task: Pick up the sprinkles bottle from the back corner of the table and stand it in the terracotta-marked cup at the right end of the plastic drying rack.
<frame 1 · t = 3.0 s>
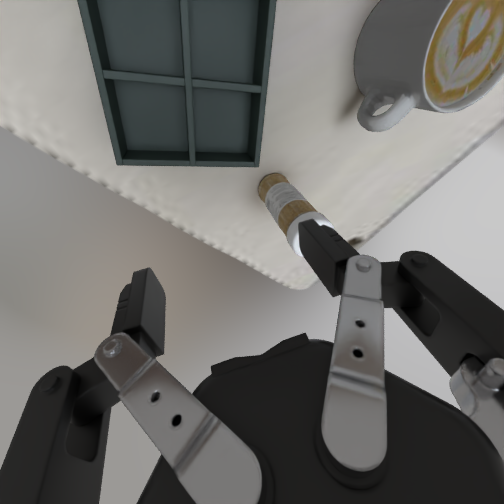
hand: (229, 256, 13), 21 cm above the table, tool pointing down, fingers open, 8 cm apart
rack: (184, 34, 22), on the table
sprinkles bottle: (272, 187, 34), on the table
coffee mug: (379, 62, 28), on the table
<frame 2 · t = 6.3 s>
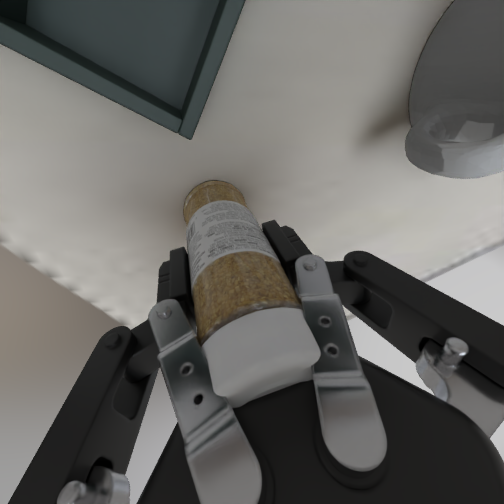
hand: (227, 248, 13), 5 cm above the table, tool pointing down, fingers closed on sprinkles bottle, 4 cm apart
sprinkles bottle: (214, 207, 18), on the table, touching gripper
coffee mug: (449, 79, 17), on the table
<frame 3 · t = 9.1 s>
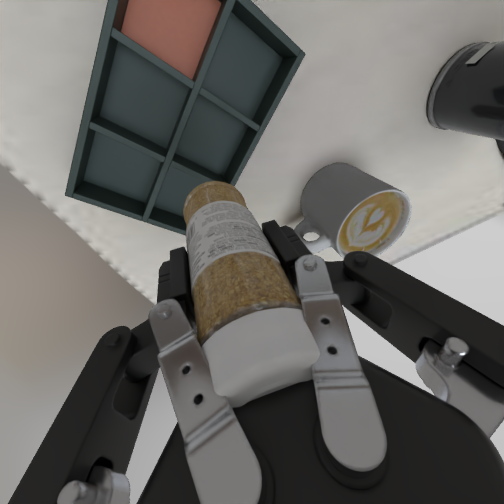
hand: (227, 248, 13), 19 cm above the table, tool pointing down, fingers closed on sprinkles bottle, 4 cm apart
rack: (179, 120, 26), on the table
sprinkles bottle: (214, 207, 18), point 14 cm above the table, touching gripper
coffee mug: (319, 199, 37), on the table
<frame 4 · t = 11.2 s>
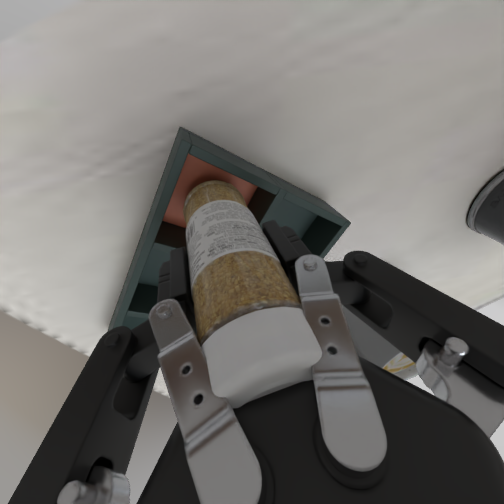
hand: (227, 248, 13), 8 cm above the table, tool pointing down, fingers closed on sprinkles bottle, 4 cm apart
rack: (212, 267, 25), on the table
sprinkles bottle: (214, 207, 18), point 3 cm above the table, touching gripper
coffee mug: (350, 301, 35), on the table
when the fingers open (6 cm above the table, at t = 12.3 s): sprinkles bottle stays where it is, resting on rack.
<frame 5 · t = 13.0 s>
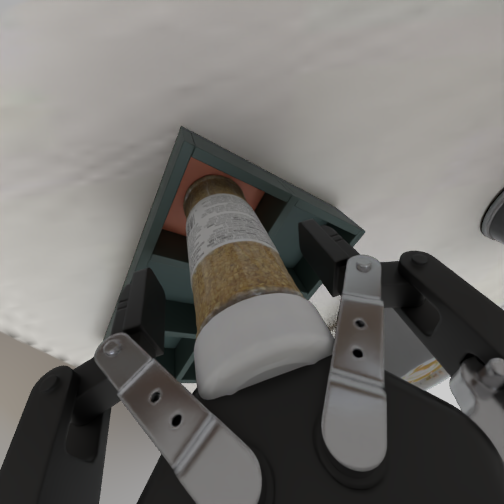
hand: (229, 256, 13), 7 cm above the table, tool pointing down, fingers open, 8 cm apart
rack: (215, 276, 23), on the table
sprinkles bottle: (214, 202, 18), point 1 cm above the table, touching rack
coffee mug: (357, 309, 34), on the table
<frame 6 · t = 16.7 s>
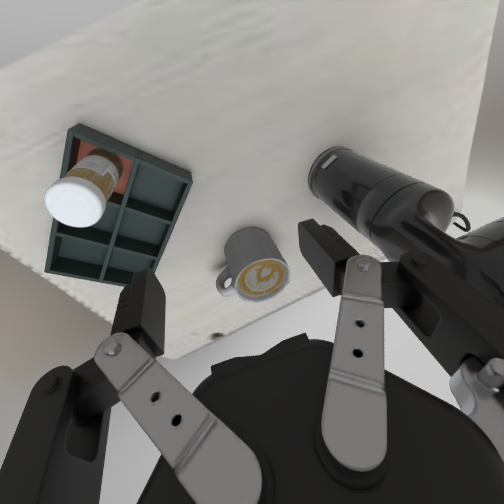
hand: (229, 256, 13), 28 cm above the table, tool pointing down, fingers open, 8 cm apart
rack: (121, 215, 38), on the table
sprinkles bottle: (105, 164, 33), point 1 cm above the table, touching rack
coffee mug: (240, 251, 49), on the table
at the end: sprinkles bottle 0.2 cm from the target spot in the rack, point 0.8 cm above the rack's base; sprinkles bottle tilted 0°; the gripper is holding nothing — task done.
